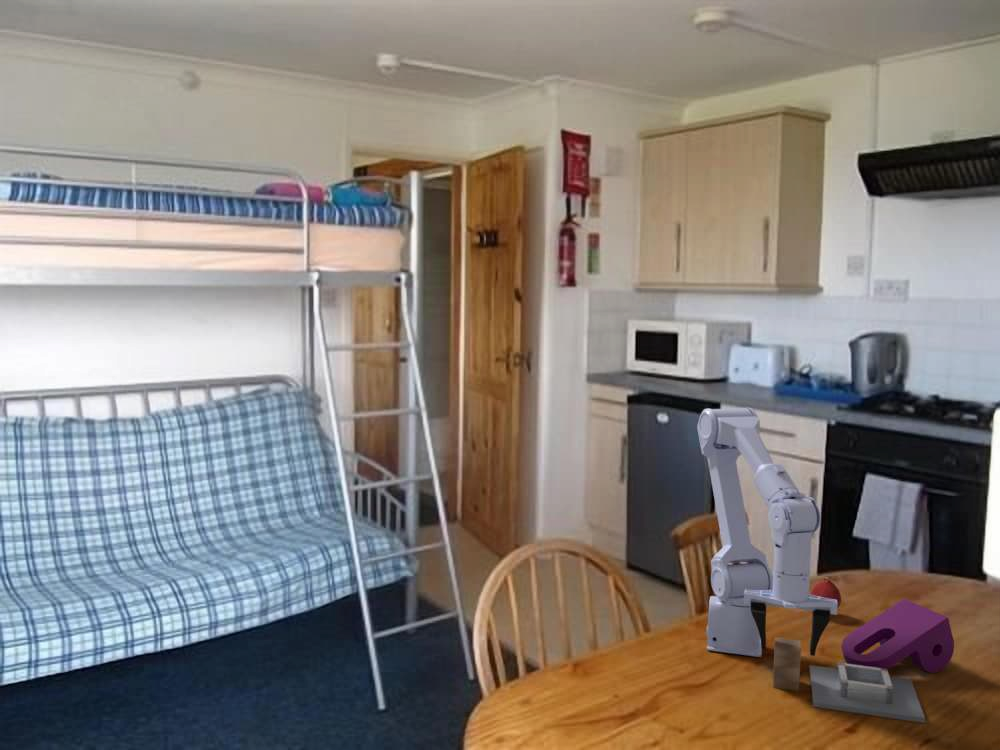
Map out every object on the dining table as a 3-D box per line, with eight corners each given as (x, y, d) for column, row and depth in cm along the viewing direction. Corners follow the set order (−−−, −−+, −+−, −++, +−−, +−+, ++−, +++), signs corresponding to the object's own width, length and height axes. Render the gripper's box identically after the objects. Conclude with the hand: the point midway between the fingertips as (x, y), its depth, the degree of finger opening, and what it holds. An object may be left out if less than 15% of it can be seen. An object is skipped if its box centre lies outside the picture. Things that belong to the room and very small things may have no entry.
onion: (814, 607, 179) (816, 570, 179) (843, 614, 176) (845, 576, 175) (806, 616, 175) (808, 577, 174) (835, 622, 171) (837, 583, 171)
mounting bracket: (882, 710, 146) (958, 658, 151) (870, 668, 144) (948, 617, 149) (841, 686, 154) (914, 637, 160) (829, 646, 152) (904, 598, 158)
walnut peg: (773, 687, 143) (775, 646, 142) (773, 677, 147) (775, 637, 146) (798, 691, 142) (800, 650, 141) (798, 680, 146) (800, 640, 145)
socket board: (813, 706, 137) (814, 686, 136) (809, 669, 150) (810, 651, 150) (924, 723, 132) (926, 702, 132) (910, 683, 145) (911, 664, 145)
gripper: (745, 572, 141) (741, 653, 142) (840, 582, 137) (836, 666, 138) (746, 560, 148) (743, 637, 149) (837, 569, 143) (833, 648, 145)
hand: (787, 650), depth 144 cm, fingers open, 7 cm apart
